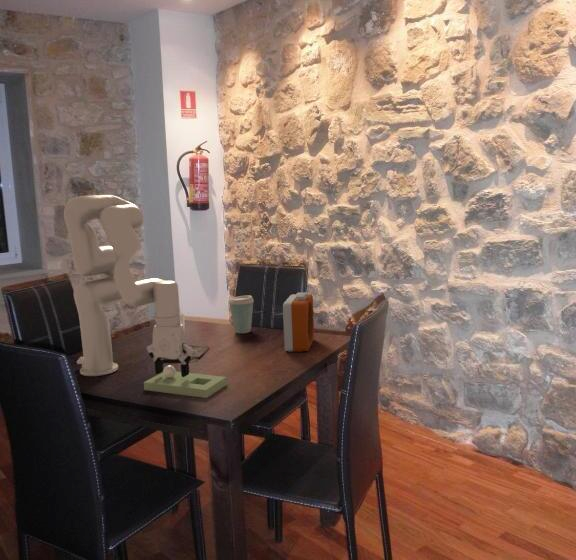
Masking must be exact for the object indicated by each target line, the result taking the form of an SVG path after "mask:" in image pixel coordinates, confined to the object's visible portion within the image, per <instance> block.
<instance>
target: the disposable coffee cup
mask: <svg viewBox="0 0 576 560" xmlns="http://www.w3.org/2000/svg"><path fill="white" fill-rule="evenodd" d="M254 302H255V300H254V298H253V296H252V295H240V296H235V297H231V298H230V299H229V300H228V304H229V309H230V314H231V319H232V324H233V328H234V331H235V333H237V334H247V333H250V332H251V330H252V323H253V309H254Z"/></svg>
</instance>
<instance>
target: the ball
mask: <svg viewBox="0 0 576 560" xmlns="http://www.w3.org/2000/svg"><path fill="white" fill-rule="evenodd" d="M176 371H177V369H176V368H175V366H174V365H170V364H169V365H166V366H165V367H163V375H164V376H165V377H166V378H172V377H174V375H175V374H176Z"/></svg>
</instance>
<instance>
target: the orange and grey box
mask: <svg viewBox="0 0 576 560" xmlns="http://www.w3.org/2000/svg"><path fill="white" fill-rule="evenodd" d="M282 318H283V319H282V320H283V339H284V341H283V343H284V351H285V352H287V351H288V353H289V352H291V353H293V352H294V353H295V352H296V353H297V352H298V353H299V352H300V353H301V352H302V353H304V352H303V351H307V352H309V350H310V349H311V346H312V344H313V342H314V340H315V328H314V327H315V326H314V323H315V322H314V321H315V320H314V296H313V294H311V293H310V294H309V293H308V292H297V293H296V294H290V295H289V297H287V299H286V300H285V301H284V302H283V304H282Z"/></svg>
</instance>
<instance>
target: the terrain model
mask: <svg viewBox="0 0 576 560" xmlns="http://www.w3.org/2000/svg"><path fill="white" fill-rule="evenodd" d="M188 346H189V347H191V348H192V349H194V350H195V353H194V356H193V358H192V359H191V361H190V362H189V364H190V363H196V362H198V361H199V360H200V359H201V358H203V356H204V355H205V354H206V353H207V352H208V351H209V350H210V347H208V346H200V345H190V344H189V345H188ZM188 354H189V353H188V352H187V354H186V355H187V356H188ZM161 359H162V360H163V363H175V362H178V363H179V362H181V361H180V360H179V359H168V358H161ZM184 360H185V359H184Z"/></svg>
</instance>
